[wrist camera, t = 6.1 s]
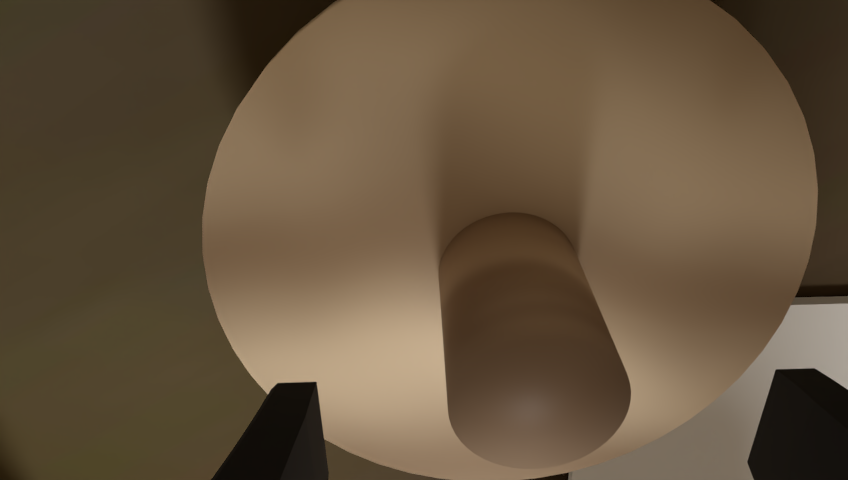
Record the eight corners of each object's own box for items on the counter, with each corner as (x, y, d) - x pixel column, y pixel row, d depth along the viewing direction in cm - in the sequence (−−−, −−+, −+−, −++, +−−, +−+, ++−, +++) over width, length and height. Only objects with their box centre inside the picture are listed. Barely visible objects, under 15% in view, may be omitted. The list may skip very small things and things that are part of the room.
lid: (736, 447, 18) (833, 620, 14) (264, 468, 18) (220, 646, 14) (873, -75, 12) (1125, -42, 8) (146, -39, 12) (3, 14, 8)
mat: (870, 552, 28) (875, 561, 27) (557, 561, 28) (559, 570, 27) (996, 292, 21) (1006, 299, 21) (590, 302, 21) (593, 310, 21)
